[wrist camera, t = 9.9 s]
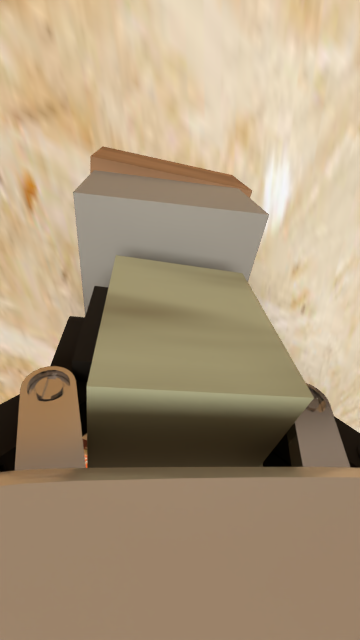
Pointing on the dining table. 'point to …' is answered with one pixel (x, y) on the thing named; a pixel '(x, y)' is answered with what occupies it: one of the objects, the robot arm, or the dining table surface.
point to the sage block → (187, 372)
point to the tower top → (163, 225)
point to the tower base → (160, 169)
